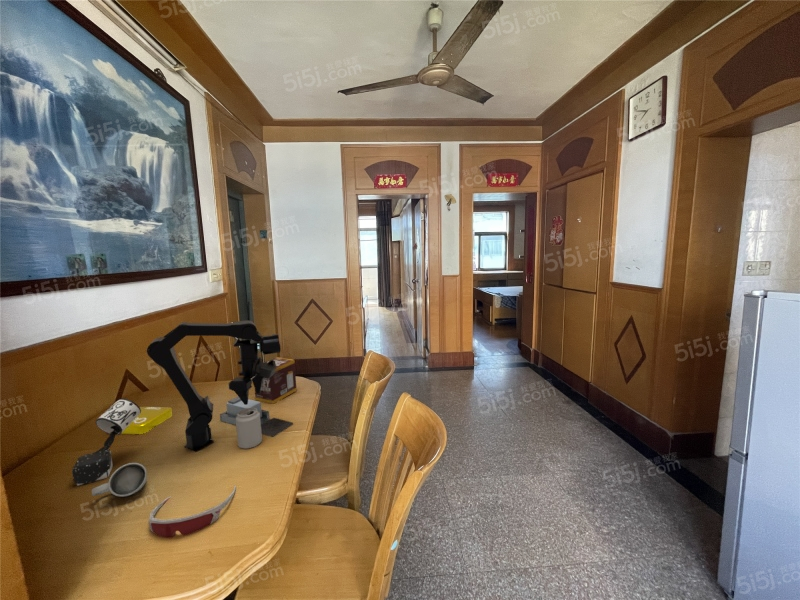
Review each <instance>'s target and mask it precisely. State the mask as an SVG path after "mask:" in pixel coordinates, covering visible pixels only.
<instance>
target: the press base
mask: <svg viewBox="0 0 800 600" xmlns="http://www.w3.org/2000/svg"><path fill="white" fill-rule="evenodd" d="M219 418H220V421H221V422H223V423H225V424H226V423H227V424H230V425H233V426H236V417H235V416H231V415H228V414H227V410H226V411H224V412H222V413H220V414H219ZM260 421H261V432H262V435H265V436H268V437H271V438H274V437H275V436H277V435H279V434H280V433H282V432H284V431H285V430H286V429H289V427H292V426H293V425H294V423H293V422H291V421H288V420H283V419H280V418H277V417H273V418H270V411H269V410H266V409H262V417H261V418H260Z"/></svg>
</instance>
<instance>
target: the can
mask: <svg viewBox="0 0 800 600" xmlns="http://www.w3.org/2000/svg"><path fill="white" fill-rule="evenodd" d="M237 415H238V416H237V417H236V425H235V426H236V437H237V438H236V439H237V446H238V448H240V449H243V450H246V449H252V448H255V447H257V446H259V444H261V443H262V441H263V434H262V432H261V421H260V413H259V412H258V410H257V409H256V408H246V409H243V410H241V411H239V412H238V413H237Z"/></svg>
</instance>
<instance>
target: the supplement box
mask: <svg viewBox="0 0 800 600" xmlns="http://www.w3.org/2000/svg"><path fill="white" fill-rule="evenodd" d="M271 360H274V361H275V363H276V367H277V369H276V370H275V371H274V375H272V376H271V377H270V378H265V377H264V379H263V383H262V387H261V391H260V393H257V392H256V390H255V389H254V395H255V401H258V402H261V403H267V404H273V405H274V404H276V403H277V402H279V401H281V400H283V399H285V398H286V397H288V396H290V395H291V394H293V393H296V391H297V379H296V378H297V377H296V367H295V366H296V364H295V363H296V362H295V359H292V358H286V357H285V358H284V357H279V356H278V357H277V356H276V357H275V358H273V359H271ZM269 361H270V360H268V361H267V360H266V362H267V363H268V362H269Z"/></svg>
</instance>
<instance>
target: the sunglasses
mask: <svg viewBox="0 0 800 600" xmlns="http://www.w3.org/2000/svg"><path fill="white" fill-rule="evenodd" d="M236 488H237V486H236V484H235V485H234V487H233V490H232V492H231V493H230V495H229V496H228V497H227V498H226V499H225V500H223V501H222V502H221V503H219V504H218V505H216V506H212V507H211V508H209V509H207V510H204V511H202V512H199V513H196V514H192V515H189V516H184V517H179V518H170V519H160V518H156V517H155V515H156V513H157V512H158V510H159V509H160V508H161V507H162V506H163V505H164V504H165V503H166V502H168V500H169V499H170V498H171V497H172V496H170V495H169V496H168V497H166V498H165V499H164V500H162V501H161V502H160V503H159V504H158V505H157V506H156V507H154V508H153V509H152V511H151V512H150V514H149V518H148V524H149V525H148V526H149V529H150V531H151V532H152V533H153V534H155V535H156V536H158V537H161V538H162V537H163V538H173V537H174V535H175V534H176V532H179V533H180V534H181V535H183V536H188V535H190V534H192V533H196V532H199V531H200V530H202V529H204V528H206V527H207V526H210V525H212V523H215V522H217V521H218V519H219V517H220V514H221V511H223V510H224V508H226V507H227V506H228V505H229V503H230V501H231V500H232V499H233V496H234V495H235V492H236Z"/></svg>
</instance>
